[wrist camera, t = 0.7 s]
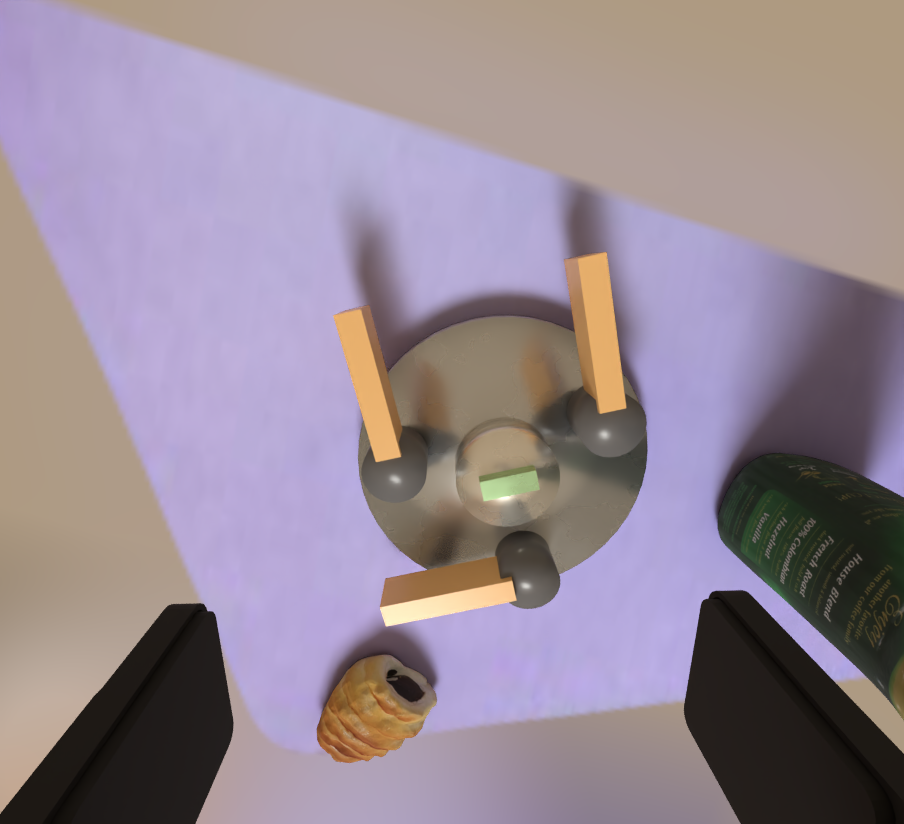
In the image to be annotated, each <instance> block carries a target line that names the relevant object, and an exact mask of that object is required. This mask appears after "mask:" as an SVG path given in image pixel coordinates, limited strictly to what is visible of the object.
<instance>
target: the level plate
mask: <svg viewBox="0 0 904 824" xmlns="http://www.w3.org/2000/svg"><path fill="white" fill-rule="evenodd" d="M388 377H389V381H390V385H391V388H392V392H393V396H394V399H395V403H396V407H397V411H398V414H399V418H400V422H401V426H406V427H409V428H412V429H414V430H415V431H417V432H418V433H419V434H420V435H421V436H422V437H423V439H424V440H425V442H426V444H427V447H428V464H427V475H426V481H425V484H424V486H423V488H422V489H421V491H420V492H419V493H418V494H417V495H416V496H415V497H413V498H411V499H410V500H407V501H404V502H399V503H390V502H385V501H382V500H380V499H378V498H376V497H375V496H373V495H372V494H371V493H370V492H369V491H368V490H367V488H366V487H365V485H364V483H363V480H362V476H361V468H362V464H363V461H364V459H365V456H366V454H367V451H368V449H369V447H370V440H369V437H368V433H367V430H366V426H365V423H364V421H363V424H362V429H361V434H360V439H359V452H358V463H359V475H360V480H361V484H362V489H363V493H364V496H365V498H366V501H367V503H368V506H369V509H370V511H371V512H372V514H373V516H374V518H375V520H376V522H377V523H378V525H379V526H380V528H381V529H382V530H383V532H384V533H385V534H386V536H387V537H388V538H389V539H390V540H391V541H392V542H393V544H394V545H395V546H396V547H397V548H398V549H399V550H400V551H402V552H403V553H404V554H405V555H407V556H408V557H409V558H410V559H412V560H413V561H414V562H416V563H418V564H419V565H421V566H422V567H424V568H426V569H427V570H430V569H435V568H440V567H445V566H450V565H455V564H460V563H464V562H469V561H474V560H479V559H484V558H489V557H494V556H495V551H496V548H497V545H498V544H499V542H500V541H501V540H502V539H503V538H504V537H505V536H507V535H508V534H510V533H513V532H516V531H522V530H526V531H532V532H535V533H537V534H539V535H540V536H542V537H543V538H544V539H545V541H546V542H547V544H548V546H549V549H550V551H551V554H552V557H553V559H554V562H555V565H556V567H557V570H558V573H559V574H561V573H563V572H565V571H567V570H569V569H571V568H573V567H575V566H577V565H578V564H580V563H581V562H583V561H584V560H586V559H587V558H589V557H590V556H592V555H593V554H594V553H595V552H596V551H598V550H599V549H600V548H601V547H602V546H603V545H605V544H606V542H607V541H608V540H609V539H610V538H611V537H612V536H613V535H614V534H615V533H616V532H617V530H618V529H619V528H620V526H621V525H622V523H623V522H624V521H625V519H626V518H627V516H628V514H629V513H630V511H631V509H632V507H633V505H634V503H635V501H636V499H637V496H638V494H639V491H640V488H641V486H642V482H643V478H644V473H645V469H646V461H647V432H646V430H645V433H644V436H643V438H642V440H641V441H640V442H639V444H638V445H637V446H636V447H635V448H634V449H633V450H631V451H630V452H628V453H626V454H624V455H621V456H618V457H602V456H599V455H596V454H594V453H593V452H591V451H590V450H589V449H588V448H587V447H586V446H585V445H584V443H583V442H582V441H581V440H580V438H579V437H578V436H577V434H576V433H575V432H574V431H573V429H572V428H571V427H570V425H569V423H568V420H567V405H568V402H569V400H570V398H571V397H572V395H573V394H574V393H575V391H577V390H578V389H579V388H580V387H582V386H583V381H582V375H581V368H580V362H579V355H578V348H577V342H576V335H575V332H573V331H571V330H569V329H567V328H564V327H562V326H559V325H557V324H554V323H552V322H549V321H545V320H540V319H536V318H532V317H525V316H516V315H494V316H486V317H479V318H473V319H469V320H466V321H463V322H459V323H456V324H453V325H451V326H448V327H446V328H444V329H442V330H439V331H437V332H435V333H433V334H432V335H430V336H429V337H427V338H425V339H424V340H422V341H420V342H419V343H418V344H416V345H415V346H414V347H413V348H411V349H410V350H409V351H408V352H407V353H405V354H404V355H403V356H402V357H401V358H400V359H399V360H398V362H397V363H396V364H395V365H394V366H393V367H392V368H391V369H390V371H389V372H388ZM622 378H623V386H624V393H626V394H627V395H629V396H630V397H632V398H633V399H634V400H636V401H637V402H638V403H639V401H638V398H637V396H636V394H635V392H634V390H633V388H632V387H631V385H630V383H629V381H628V380H627V378H626V377H625V375H624V374H623V373H622Z"/></svg>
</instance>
